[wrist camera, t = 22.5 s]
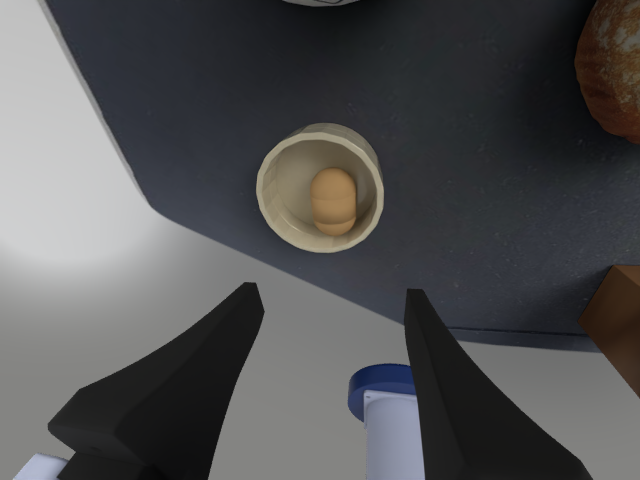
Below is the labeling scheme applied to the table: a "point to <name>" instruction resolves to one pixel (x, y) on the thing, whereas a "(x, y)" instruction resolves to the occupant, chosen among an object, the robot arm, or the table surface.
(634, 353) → the block
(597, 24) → the bread roll
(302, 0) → the planter
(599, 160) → the table surface
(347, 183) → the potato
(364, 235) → the bowl
